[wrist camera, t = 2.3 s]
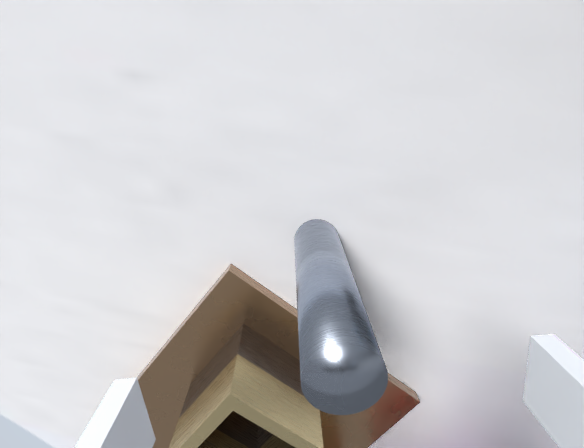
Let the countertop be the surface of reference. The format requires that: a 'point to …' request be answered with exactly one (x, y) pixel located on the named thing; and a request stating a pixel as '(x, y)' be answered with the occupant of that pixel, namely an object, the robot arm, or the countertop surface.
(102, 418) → the robot arm
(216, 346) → the square socket plate
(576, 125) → the countertop surface
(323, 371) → the pin
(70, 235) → the countertop surface
